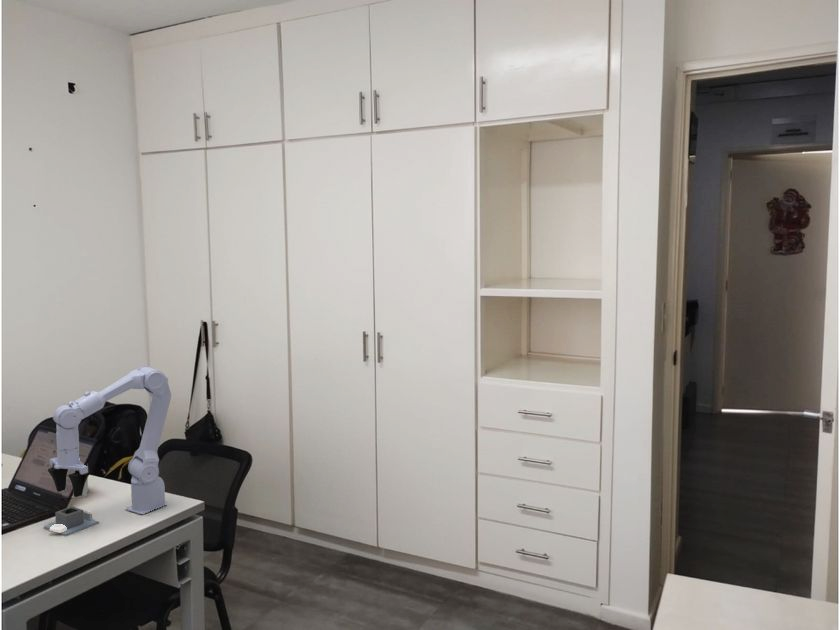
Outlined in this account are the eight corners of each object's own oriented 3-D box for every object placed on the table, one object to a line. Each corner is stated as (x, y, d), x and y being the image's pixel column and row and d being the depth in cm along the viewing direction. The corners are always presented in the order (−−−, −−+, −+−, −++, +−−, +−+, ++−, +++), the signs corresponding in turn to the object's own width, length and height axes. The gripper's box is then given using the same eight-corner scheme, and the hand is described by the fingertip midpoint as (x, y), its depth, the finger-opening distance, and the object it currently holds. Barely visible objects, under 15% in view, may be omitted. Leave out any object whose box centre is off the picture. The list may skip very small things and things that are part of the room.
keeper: (77, 516, 210) (76, 504, 210) (98, 523, 205) (98, 511, 205) (43, 528, 201) (43, 516, 200) (65, 536, 196) (65, 524, 196)
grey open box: (72, 519, 206) (72, 506, 206) (83, 523, 204) (83, 510, 203) (55, 525, 202) (55, 512, 201) (67, 529, 199) (66, 516, 199)
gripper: (39, 446, 200) (40, 492, 202) (71, 455, 193) (72, 502, 195) (62, 440, 206) (63, 485, 208) (94, 449, 199) (95, 495, 201)
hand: (69, 493), depth 202 cm, fingers open, 7 cm apart
